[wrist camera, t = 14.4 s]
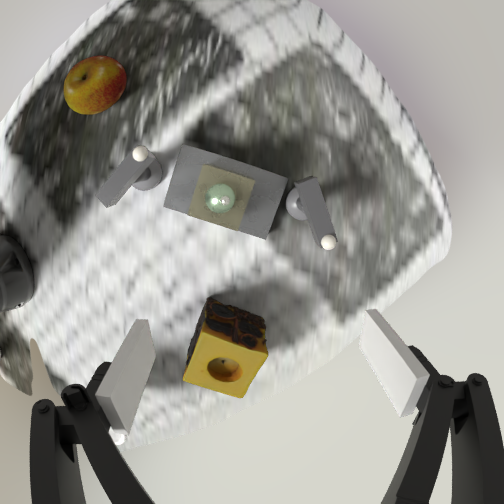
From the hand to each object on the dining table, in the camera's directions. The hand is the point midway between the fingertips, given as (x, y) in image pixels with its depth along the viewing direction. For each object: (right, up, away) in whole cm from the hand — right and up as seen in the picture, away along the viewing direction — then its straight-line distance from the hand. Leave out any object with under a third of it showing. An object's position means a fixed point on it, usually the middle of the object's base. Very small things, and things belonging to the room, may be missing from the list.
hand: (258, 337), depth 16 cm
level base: (-4, +14, +24) cm, 28 cm away
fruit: (-23, +30, +18) cm, 42 cm away
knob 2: (+7, +12, +25) cm, 28 cm away
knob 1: (-16, +17, +23) cm, 32 cm away
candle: (-5, -8, +31) cm, 33 cm away
